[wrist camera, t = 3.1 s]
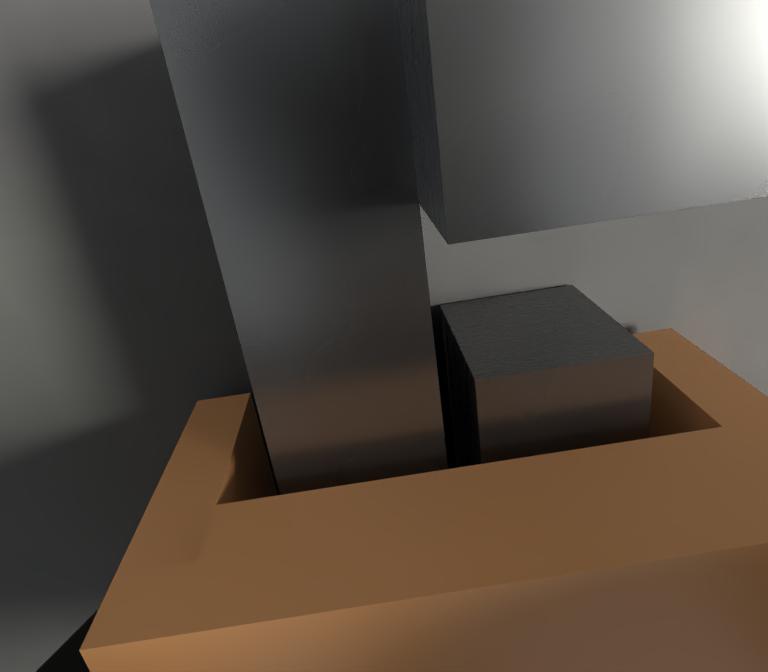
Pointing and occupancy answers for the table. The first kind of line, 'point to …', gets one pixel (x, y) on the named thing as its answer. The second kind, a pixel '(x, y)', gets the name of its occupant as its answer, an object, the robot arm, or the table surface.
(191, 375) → the table surface
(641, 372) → the tongs fixed
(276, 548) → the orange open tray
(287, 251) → the arm
